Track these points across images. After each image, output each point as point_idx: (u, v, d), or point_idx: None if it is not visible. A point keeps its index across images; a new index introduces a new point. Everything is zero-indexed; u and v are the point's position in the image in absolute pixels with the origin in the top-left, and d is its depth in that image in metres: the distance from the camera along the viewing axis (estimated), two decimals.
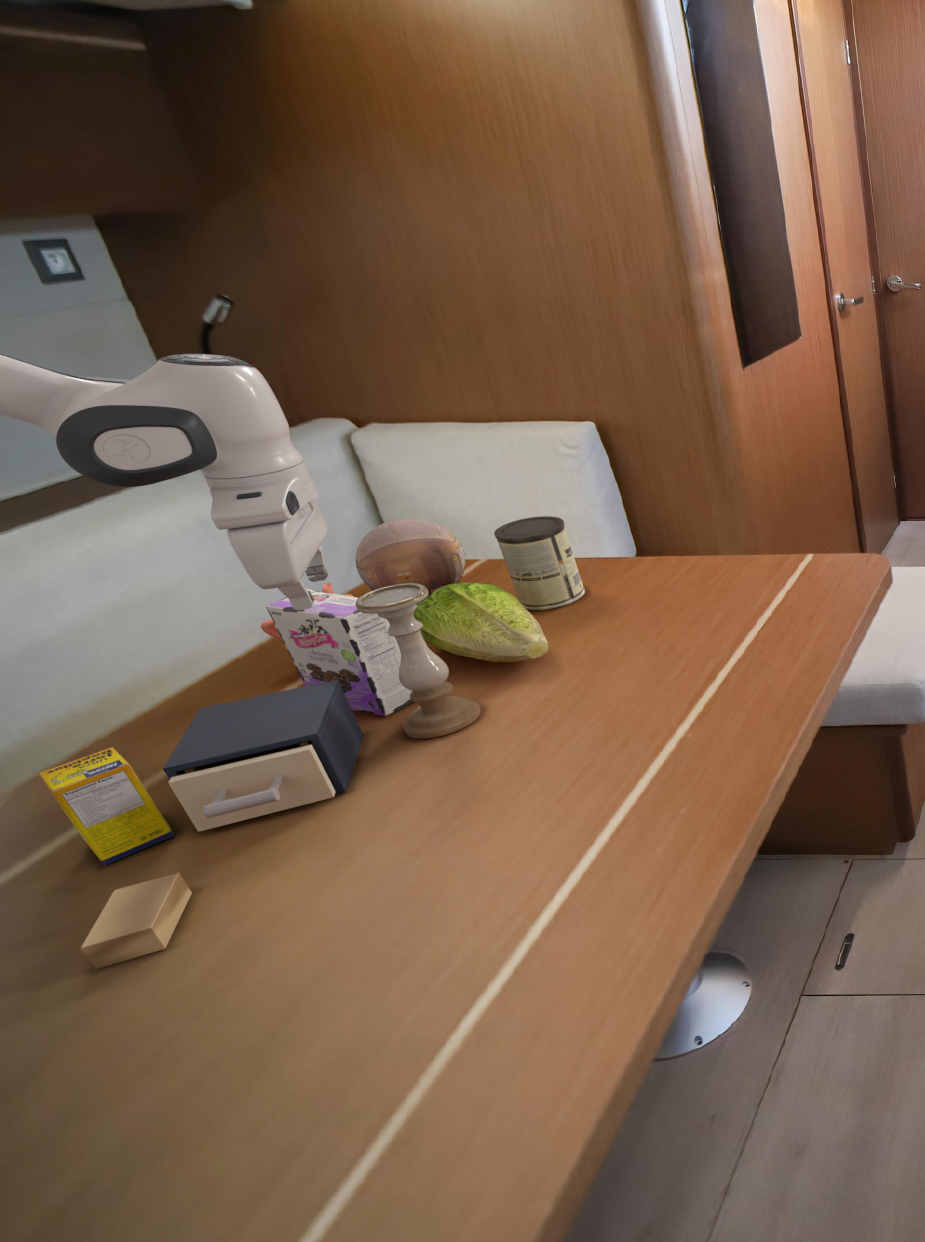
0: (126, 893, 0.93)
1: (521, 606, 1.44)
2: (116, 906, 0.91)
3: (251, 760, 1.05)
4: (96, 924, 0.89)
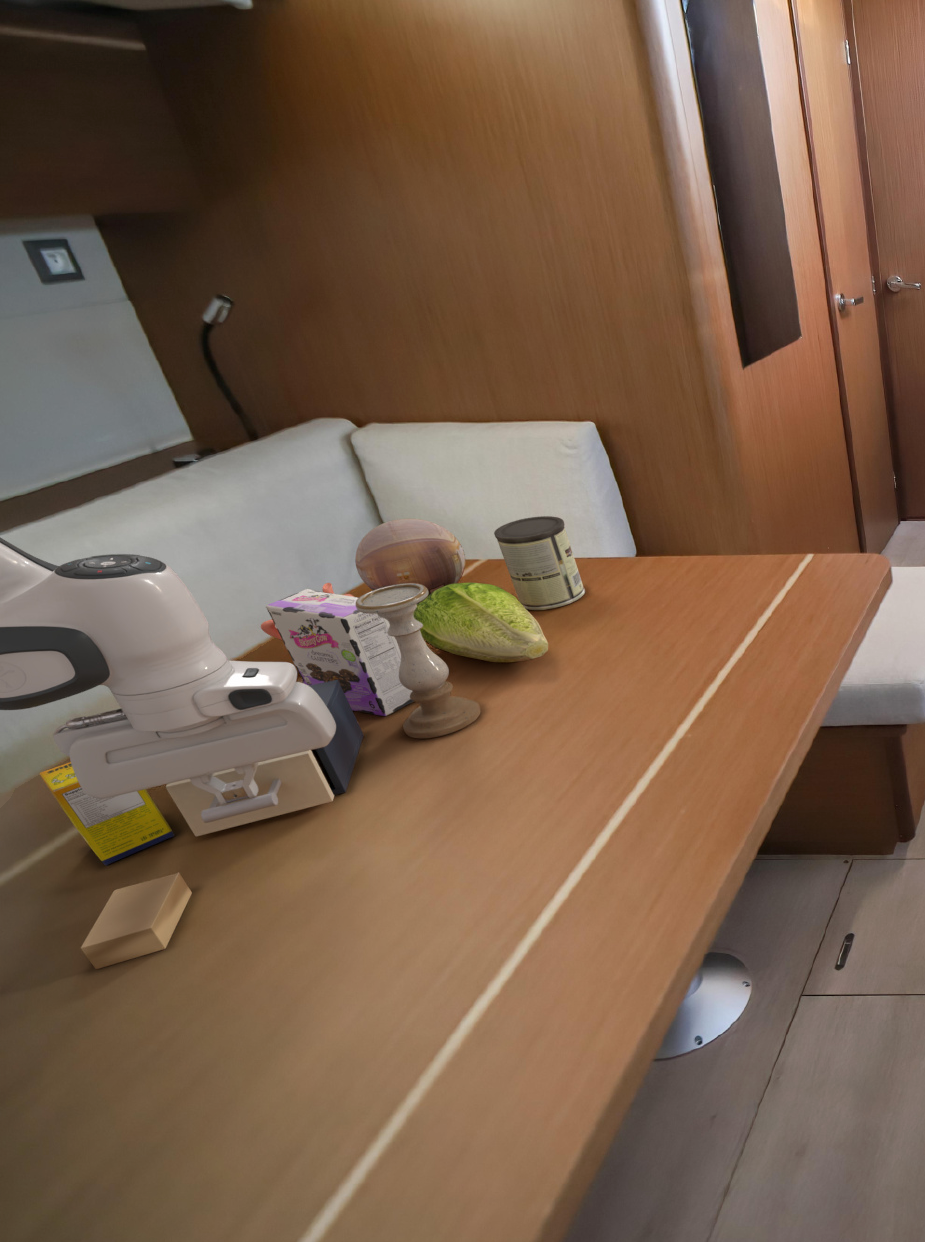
0: (126, 893, 0.93)
1: (521, 606, 1.44)
2: (116, 906, 0.91)
3: None
4: (96, 924, 0.89)
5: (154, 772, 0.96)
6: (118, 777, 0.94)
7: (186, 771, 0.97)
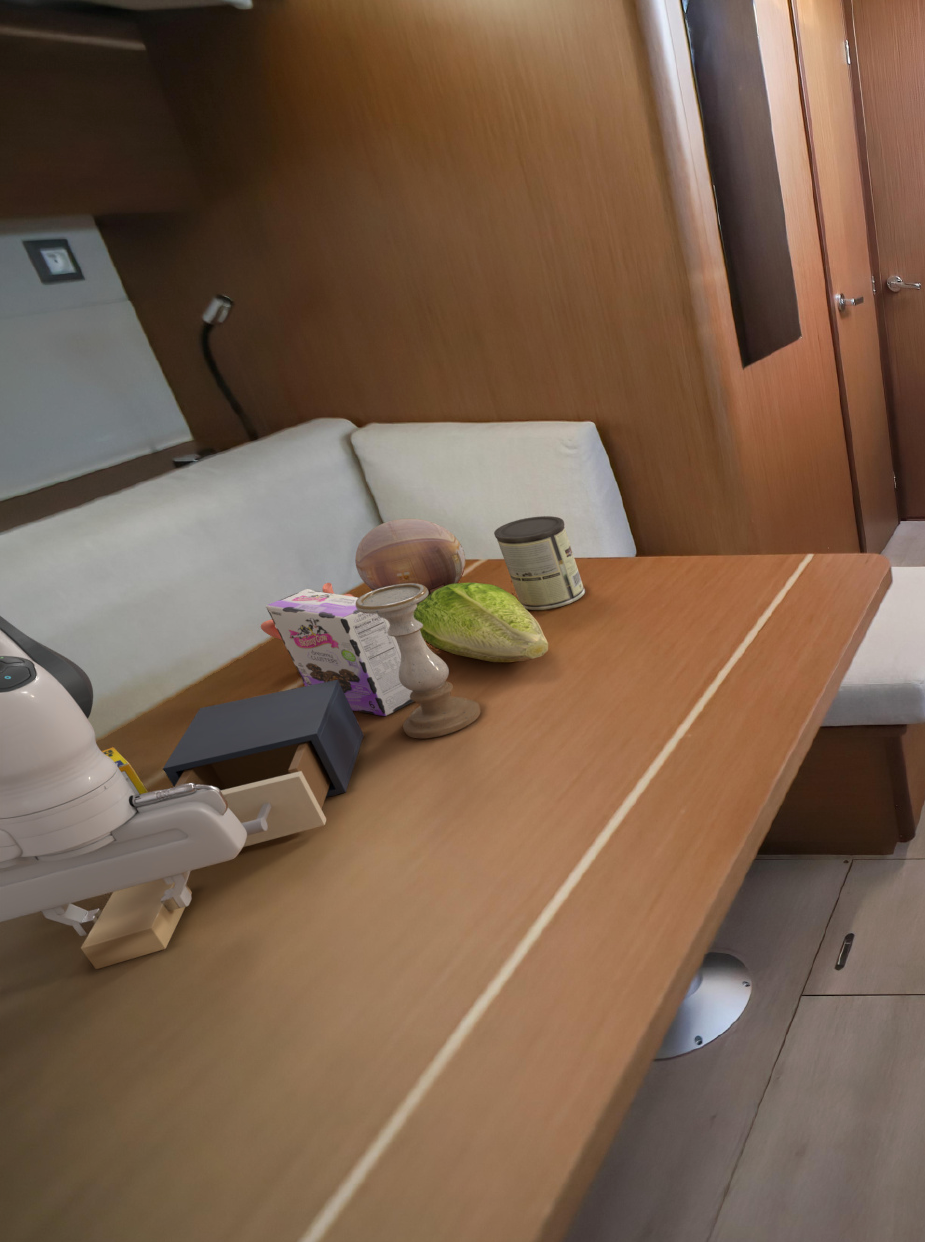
0: (126, 893, 0.93)
1: (521, 606, 1.44)
2: (116, 906, 0.91)
3: (237, 788, 1.00)
4: (96, 924, 0.89)
5: None
6: None
7: None
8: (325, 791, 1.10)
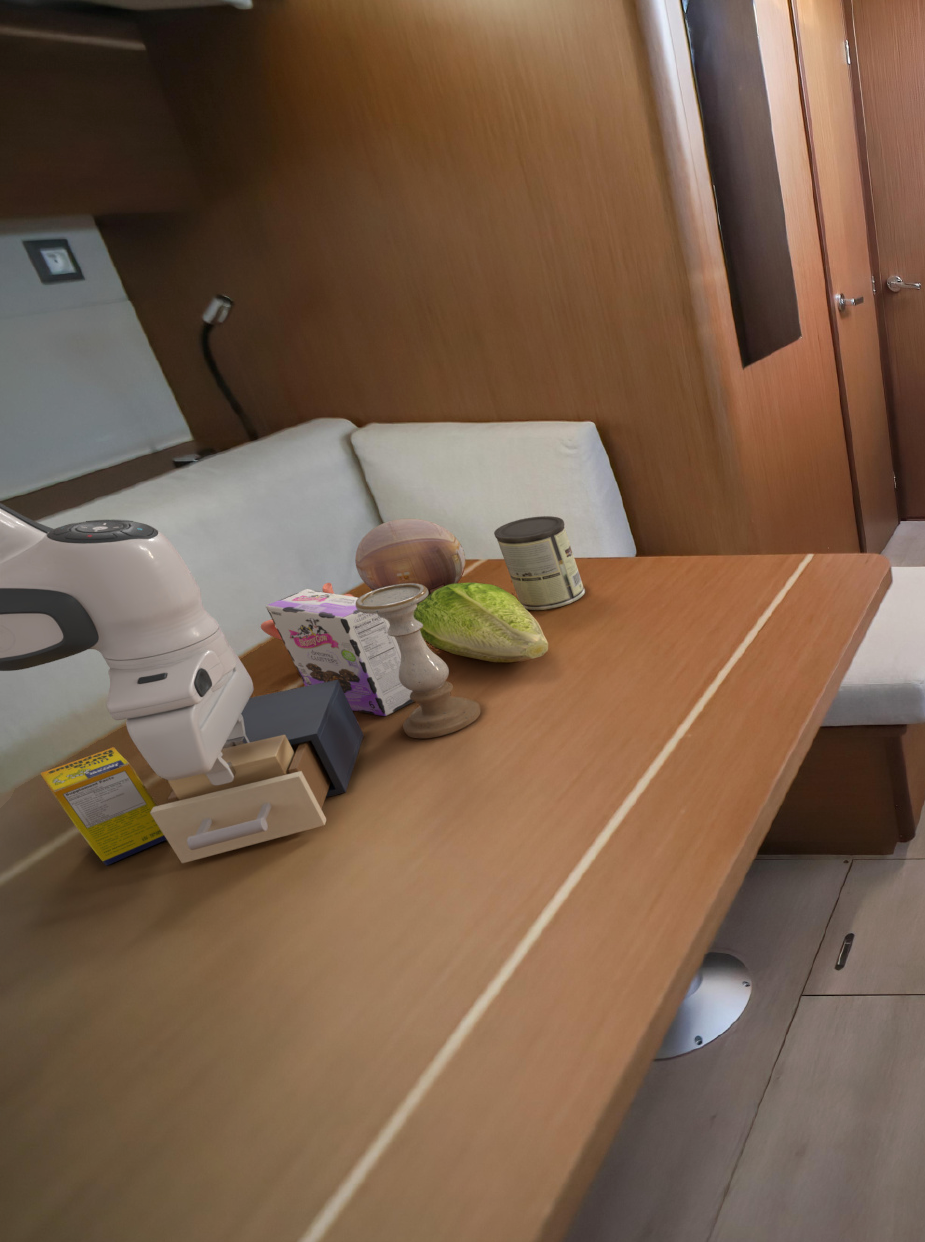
0: None
1: (521, 606, 1.44)
2: None
3: (237, 788, 1.00)
4: (237, 763, 1.01)
5: None
6: None
7: None
8: (325, 791, 1.10)
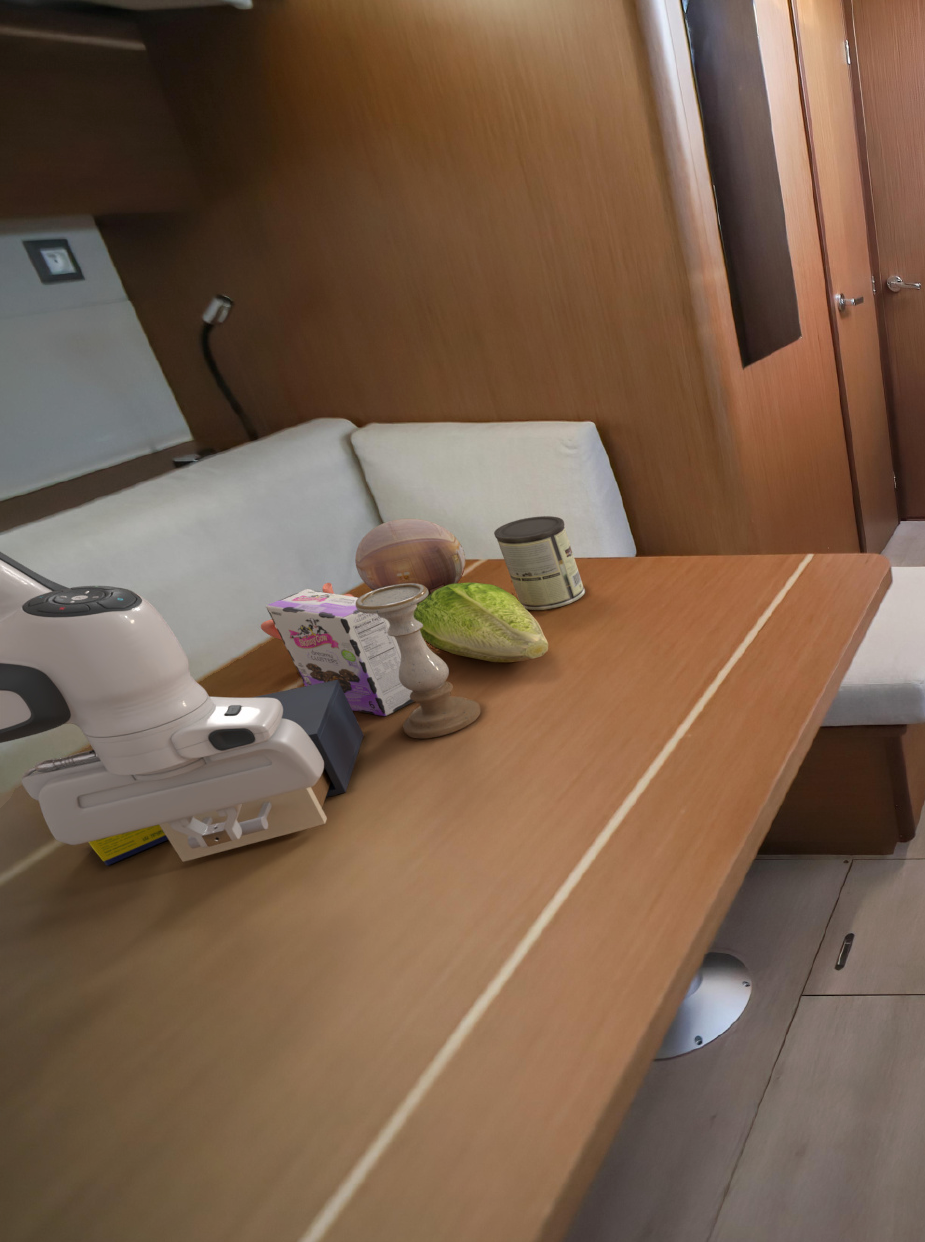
0: None
1: (521, 606, 1.44)
2: None
3: None
4: None
5: (130, 816, 0.90)
6: (91, 822, 0.89)
7: (164, 815, 0.92)
8: (325, 790, 1.10)
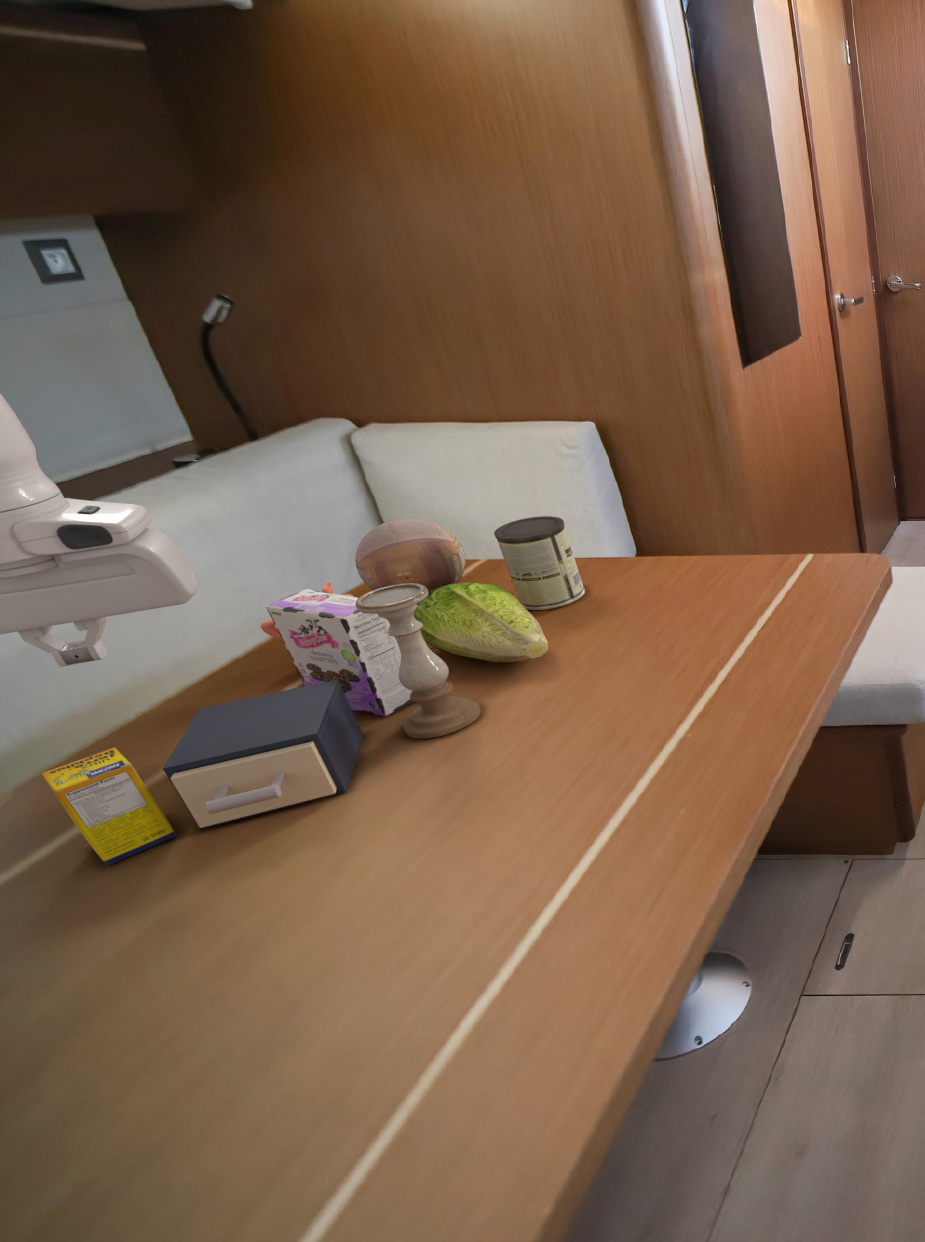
0: None
1: (521, 606, 1.44)
2: None
3: (253, 757, 1.05)
4: None
5: None
6: None
7: (12, 622, 0.84)
8: None
